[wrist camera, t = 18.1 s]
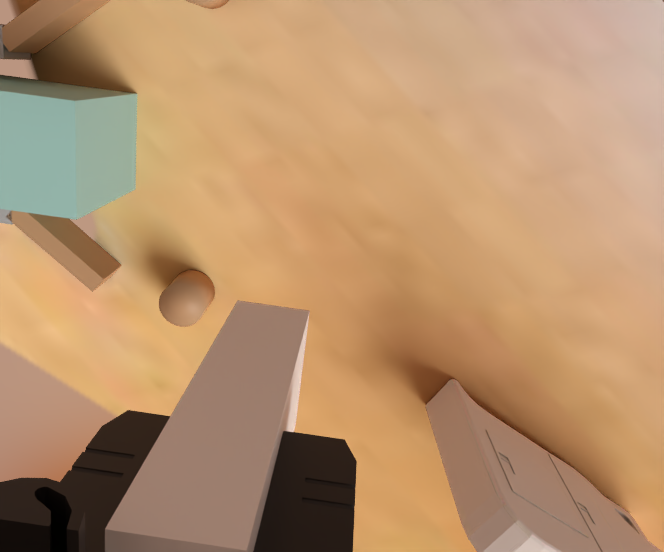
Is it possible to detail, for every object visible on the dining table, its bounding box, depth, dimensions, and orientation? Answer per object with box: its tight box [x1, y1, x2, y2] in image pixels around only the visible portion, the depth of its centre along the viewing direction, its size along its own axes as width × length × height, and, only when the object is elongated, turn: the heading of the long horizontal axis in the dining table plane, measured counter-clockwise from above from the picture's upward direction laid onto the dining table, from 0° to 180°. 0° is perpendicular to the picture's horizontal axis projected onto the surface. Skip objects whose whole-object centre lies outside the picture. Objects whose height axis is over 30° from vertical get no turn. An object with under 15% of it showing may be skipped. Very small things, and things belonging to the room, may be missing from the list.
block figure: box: [0, 0, 229, 327], centre depth 31 cm, size 18×15×2 cm
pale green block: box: [0, 75, 137, 219], centre depth 29 cm, size 5×10×7 cm, turn 83°
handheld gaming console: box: [426, 379, 662, 552], centre depth 33 cm, size 11×3×15 cm
